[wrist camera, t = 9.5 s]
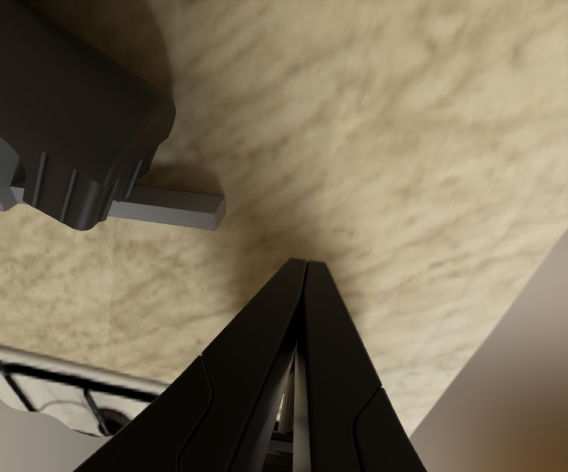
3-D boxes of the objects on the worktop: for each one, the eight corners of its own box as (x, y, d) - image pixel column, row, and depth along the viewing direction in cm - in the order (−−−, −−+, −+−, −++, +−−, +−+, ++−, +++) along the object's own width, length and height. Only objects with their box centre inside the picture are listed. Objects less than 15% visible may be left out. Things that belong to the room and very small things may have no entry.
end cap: (196, 83, 18) (128, 128, 12) (152, 182, 22) (86, 248, 16) (0, -54, 16) (-187, -71, 10) (-9, 84, 20) (-146, 124, 14)
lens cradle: (225, 213, 22) (210, 240, 20) (24, 186, 24) (-13, 209, 21) (209, -61, 14) (180, -69, 12) (-95, -77, 16) (-176, -88, 13)
